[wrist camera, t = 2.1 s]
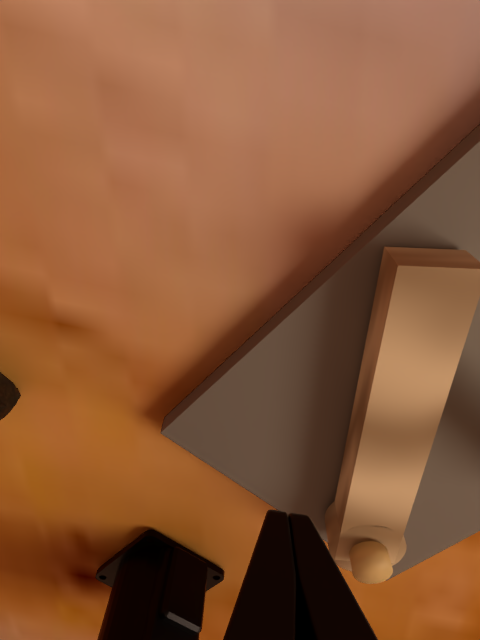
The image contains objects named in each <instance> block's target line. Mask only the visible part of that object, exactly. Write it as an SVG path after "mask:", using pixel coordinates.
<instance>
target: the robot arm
mask: <svg viewBox="0 0 480 640" xmlns="http://www.w3.org/2000/svg"><path fill="white" fill-rule="evenodd" d="M96 579H97V580H99V581H101V582H103V583H105V584H106V585H108V586H110V587H112V591H111V594H110V598H109V601H108V605H107V608H106V612H105V615H104V619H103V622H102V626H101V629H100V633H99V636H98V640H199V632H201V629H202V621H203V612H204V602H205V592H206V591H207V590H209V589H210V588H212V587H213V586H215V585H217V584H218V583H220V582H221V581H223V580H224V570H223V569H221V568H220V567H218V566H216V565H214V564H213V563H211V562H209V561H207V560H206V559H204V558H202V557H200V556H199V555H197V554H195V553H193V552H192V551H190V550H188V549H186V548H185V547H183V546H181V545H179V544H178V543H176V542H174V541H172V540H171V539H169V538H167V537H165V536H163V535H162V534H160V533H158V532H156V531H154V530H147V531H145V532H144V533H143V534H142V535H140V536H139V537H138V538H137V539H135V540H134V541H133V542H132V543H130V544H129V545H128V546H126V547H125V548H124V549H123V550H121V551H120V552H119V553H118V554H116V555H115V556H114V557H113V558H111V559H110V560H109V561H107V562H106V563H105V564H104V565H102V566H101V567H100V568H99V569H98V570H97V573H96ZM223 640H378V639H377V637H376V635H375V633H374V632H373V630H372V628H371V626H370V624H369V623H368V621H367V619H366V617H365V615H364V614H363V612H362V610H361V608H360V606H359V605H358V603H357V601H356V599H355V597H354V596H353V594H352V592H351V590H350V588H349V587H348V585H347V583H346V581H345V579H344V578H343V576H342V574H341V572H340V570H339V568H338V567H337V565H336V563H335V561H334V559H333V558H332V556H331V554H330V552H329V550H328V549H327V547H326V545H325V543H324V541H323V540H322V538H321V536H320V534H319V532H318V531H317V529H316V527H315V525H314V523H313V522H312V520H311V518H310V517H309V516H307V515H303V514H297V513H289V514H287V513H286V512H283V511H276V510H268V511H267V513H266V516H265V519H264V522H263V525H262V528H261V531H260V534H259V537H258V540H257V543H256V545H255V548H254V551H253V554H252V557H251V560H250V563H249V566H248V569H247V572H246V575H245V578H244V580H243V583H242V586H241V589H240V592H239V595H238V598H237V601H236V604H235V607H234V610H233V613H232V615H231V618H230V621H229V624H228V627H227V630H226V633H225V636H224V639H223Z"/></svg>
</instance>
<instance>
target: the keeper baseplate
mask: <svg viewBox="0 0 480 640" xmlns="http://www.w3.org/2000/svg"><path fill="white" fill-rule="evenodd" d="M384 247H405V248H429V249H453V250H466V251H467V252H469V253H470V254H471V255H472V256H473V257H474V258H476V259H477V260H478V261H479V262H480V125H479V126H477V127H476V128H475V129H474V130H473V131H472V132H471V133H470V134H469V135H468V136H467V137H466V138H465V139H463V140H462V141H461V142H460V143H459V144H458V145H457V146H456V147H455V148H454V149H453V150H452V151H451V152H450V153H448V154H447V155H446V156H445V157H444V158H443V159H442V160H441V161H440V162H439V163H438V164H437V165H436V166H434V167H433V168H432V169H431V170H430V171H429V172H428V173H427V174H426V175H425V176H424V177H423V178H422V179H420V180H419V181H418V182H417V183H416V184H415V185H414V186H413V187H412V188H411V189H410V190H409V191H408V192H407V193H405V194H404V195H403V196H402V197H401V198H400V199H399V200H398V201H397V202H396V203H395V204H394V205H393V206H391V207H390V208H389V209H388V210H387V211H386V212H385V213H384V214H383V215H382V216H381V217H380V218H379V219H377V220H376V221H375V222H374V223H373V224H372V225H371V226H370V227H369V228H368V229H367V230H366V231H365V232H363V233H362V234H361V235H360V236H359V237H358V238H357V239H356V240H355V241H354V242H353V243H352V244H351V245H350V246H348V247H347V248H346V249H345V250H344V251H343V252H342V253H341V254H340V255H339V256H338V257H337V258H336V259H334V260H333V261H332V262H331V263H330V264H329V265H328V266H327V267H326V268H325V269H324V270H323V271H322V272H320V273H319V274H318V275H317V276H316V277H315V278H314V279H313V280H312V281H311V282H310V283H309V284H308V285H306V286H305V287H304V288H303V289H302V290H301V291H300V292H299V293H298V294H297V295H296V296H295V297H294V298H293V299H291V300H290V301H289V302H288V303H287V304H286V305H285V306H284V307H283V308H282V309H281V310H280V311H279V312H277V313H276V314H275V315H274V316H273V317H272V318H271V319H270V320H269V321H268V322H267V323H266V324H265V325H263V326H262V327H261V328H260V329H259V330H258V331H257V332H256V333H255V334H254V335H253V336H252V337H251V338H250V339H248V340H247V341H246V342H245V343H244V344H243V345H242V346H241V347H240V348H239V349H238V350H237V351H236V352H234V353H233V354H232V355H231V356H230V357H229V358H228V359H227V360H226V361H225V362H224V363H223V364H222V365H220V366H219V367H218V368H217V369H216V370H215V371H214V372H213V373H212V374H211V375H210V376H209V377H208V378H206V379H205V380H204V381H203V382H202V383H201V384H200V385H199V386H198V387H197V388H196V389H195V390H194V391H193V392H191V393H190V394H189V395H188V396H187V397H186V398H185V399H184V400H183V401H182V402H181V403H180V404H179V405H177V406H176V407H175V408H174V409H173V410H172V411H171V412H170V413H169V414H168V415H167V416H166V417H165V418H164V422H163V425H162V429H161V434H163V435H164V436H166V437H167V438H169V439H170V440H172V441H173V442H175V443H176V444H178V445H179V446H181V447H183V448H184V449H186V450H187V451H189V452H190V453H192V454H193V455H195V456H196V457H198V458H199V459H201V460H202V461H204V462H205V463H207V464H208V465H210V466H212V467H213V468H215V469H216V470H218V471H219V472H221V473H222V474H224V475H225V476H227V477H228V478H230V479H231V480H233V481H234V482H236V483H238V484H239V485H241V486H242V487H244V488H245V489H247V490H248V491H250V492H251V493H253V494H254V495H256V496H257V497H259V498H260V499H262V500H263V501H265V502H267V503H268V504H270V505H271V506H273V507H274V508H276V509H277V510H279V511H283V512H286V513H287V514H289V513H297V514H303V515H307V516H309V517H310V518H311V520H312V522H313V523H314V525H315V527H316V529H317V531H318V532H319V534H320V536H321V538H322V539H323V540H325V541H326V542H328V539H327V532H326V526H325V513H326V510H327V509H328V507H329V506H330V505H331V504H332V503H333V502H334V501H335V497H336V492H337V486H338V481H339V476H340V471H341V466H342V461H343V456H344V451H345V445H346V440H347V435H348V430H349V425H350V420H351V415H352V409H353V404H354V399H355V394H356V389H357V384H358V379H359V374H360V368H361V363H362V358H363V353H364V348H365V343H366V338H367V332H368V327H369V322H370V317H371V312H372V307H373V302H374V297H375V291H376V286H377V281H378V276H379V271H380V266H381V261H382V255H383V250H384ZM478 531H480V297H479V300H478V304H477V307H476V310H475V313H474V316H473V319H472V322H471V325H470V328H469V332H468V335H467V338H466V341H465V344H464V347H463V350H462V353H461V357H460V360H459V363H458V366H457V369H456V372H455V375H454V378H453V382H452V385H451V388H450V391H449V394H448V397H447V400H446V403H445V407H444V410H443V413H442V416H441V419H440V422H439V425H438V428H437V431H436V435H435V438H434V441H433V444H432V447H431V450H430V453H429V456H428V460H427V463H426V466H425V469H424V472H423V475H422V478H421V481H420V485H419V488H418V491H417V494H416V497H415V500H414V503H413V506H412V509H411V513H410V516H409V519H408V522H407V525H406V528H405V531H404V534H403V535H404V538H405V542H406V552H405V555H404V556H403V558H402V559H401V560H400V561H399V562H398V563H396V564H395V565H393V566H392V564H391V561H390V557H389V553H388V550H387V548H386V547H385V546H384V545H383V544H381V543H379V542H374V541H366V542H361V543H358V544H356V545H355V546H353V547H352V548H351V550H350V552H349V557H350V562H351V568H352V573H353V576H354V578H355V579H356V580H358V581H360V582H362V583H367V584H375V583H380V582H383V581H385V580H388V579H390V578H392V577H394V576H396V575H398V574H400V573H401V572H403V571H405V570H407V569H409V568H411V567H413V566H415V565H417V564H418V563H420V562H422V561H424V560H426V559H428V558H430V557H432V556H433V555H435V554H437V553H439V552H441V551H443V550H445V549H447V548H448V547H450V546H452V545H454V544H456V543H458V542H460V541H462V540H463V539H465V538H467V537H469V536H471V535H473V534H475V533H477V532H478Z"/></svg>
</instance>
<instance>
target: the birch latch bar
mask: <svg viewBox="0 0 480 640" xmlns="http://www.w3.org/2000/svg"><path fill="white" fill-rule="evenodd" d="M479 297H480V262H479V261H478V260H477V259H476V258H474V257H473V256H472V255H471V254H470V253H469V252H467V251H466V250H453V249H429V248H405V247H384V250H383V255H382V261H381V266H380V271H379V276H378V281H377V286H376V291H375V297H374V302H373V307H372V312H371V317H370V322H369V327H368V332H367V338H366V343H365V348H364V353H363V358H362V363H361V368H360V374H359V379H358V384H357V389H356V394H355V399H354V404H353V409H352V415H351V420H350V425H349V430H348V435H347V440H346V445H345V451H344V456H343V461H342V466H341V471H340V476H339V481H338V486H337V492H336V497H335V501H334V502H333V503H332V504H331V505H330V506H329V507H328V509H327V510H326V513H325V526H326V532H327V539H328V546H329V552H330V554H331V556H332V558H333V559H334V561H335V563H336V564H337V565H338V566H340V567H341V568H343V569H346V570H349V571H352V568H351V562H350V557H349V552H350V550H351V548H352V547H353V546H355V545H356V544H358V543H361V542H366V541H374V542H379V543H381V544H383V545H384V546H385V547H386V548H387V550H388V553H389V557H390V561H391V564H392V566H393V565H395V564H396V563H398V562H399V561H400V560H401V559H402V558H403V556H404V555H405V552H406V542H405V538H404V535H403V534H404V531H405V528H406V525H407V522H408V519H409V516H410V513H411V509H412V506H413V503H414V500H415V497H416V494H417V491H418V488H419V485H420V481H421V478H422V475H423V472H424V469H425V466H426V463H427V460H428V456H429V453H430V450H431V447H432V444H433V441H434V438H435V435H436V431H437V428H438V425H439V422H440V419H441V416H442V413H443V410H444V407H445V403H446V400H447V397H448V394H449V391H450V388H451V385H452V382H453V378H454V375H455V372H456V369H457V366H458V363H459V360H460V357H461V353H462V350H463V347H464V344H465V341H466V338H467V335H468V332H469V328H470V325H471V322H472V319H473V316H474V313H475V310H476V307H477V304H478V300H479Z"/></svg>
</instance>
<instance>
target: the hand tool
mask: <svg viewBox="0 0 480 640" xmlns="http://www.w3.org/2000/svg"><path fill="white" fill-rule="evenodd" d="M20 396H21V395H20V392H19V391H18V388H16V387H15V385H14V384H13V382H11V381H10V380H9V379H8V378H6V377H5V376H4V375H3V374H2V373H0V420H1V419H3V418H4V417H5V416H6V415H7V414H8V413H9V412H10V411H11V410H12V408H13V407H14V406H15V405H16V403H17V401H18V399H19V398H20Z"/></svg>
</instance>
